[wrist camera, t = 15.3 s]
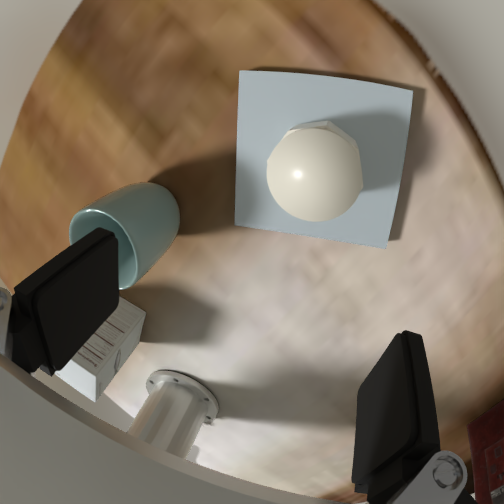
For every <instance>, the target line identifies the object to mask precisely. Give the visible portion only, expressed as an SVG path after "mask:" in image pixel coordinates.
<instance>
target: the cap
mask: <svg viewBox="0 0 504 504" xmlns="http://www.w3.org/2000/svg"><path fill="white" fill-rule="evenodd" d="M267 183H268V186H269V189H270V192H271V194H272V196H273V198H274V199H275V201H276V202H277V203H278V204H279V205H280V207H281V208H282V209H284V210H285V211H286V212H287V213H289V214H291V215H292V216H294V217H296V218H299V219H302V220H306V221H312V222H322V221H328V220H331V219H334V218H336V217H339V216H340V215H342V214H344V213H345V212H346V211H347V210H348V209H349V208H350V207H351V206H352V205H353V204H354V203H355V201H356V199H357V198H358V196H359V193H360V191H361V189H362V188H363V179H362V168H361V163H360V155H359V149H358V146H357V143H356V141H355V140H354V139H353V138H352V137H350V136H349V135H348V134H347V133H345V132H344V131H343V130H341V129H340V128H339V127H337V126H336V125H335V124H333V123H332V122H330V121H329V120H327V121H319V122H312V123H305V124H298V125H295V126H294V127H293V128H291V129H290V130H288V131H287V133H286V134H285V135H284V137H283V138H282V140H281V141H280V142H279V143H278V144H277V146H276V147H275V148H274V150H273V151H272V153H271V155H270V157H269V158H268V160H267Z"/></svg>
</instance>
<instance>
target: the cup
mask: <svg viewBox="0 0 504 504" xmlns="http://www.w3.org/2000/svg"><path fill="white" fill-rule="evenodd" d="M98 227H101V228H104V229H107V230H109V231H112V232H114V233H115V237H116V238H117V239H118V269H119V290H122V289H127V288H129V287H131V286H133V285H134V284H135V283H136V282H137V281H139V280H140V279H141V278H142V277H143V276H144V275H145V274H146V273H147V272H148V271H149V270H150V269H151V268H152V267H153V266H154V265H155V264H156V263H157V262H158V260H159V259H160V258H161V257H162V256H163V255H164V254H165V253H166V251H167V250H168V249H169V248H170V246H171V245H172V243H173V241H174V240H175V238H176V236H177V233H178V230H179V227H180V211H179V207H178V204H177V201H176V199H175V197H174V196H173V194H172V193H171V192H170V191H169V190H168V189H166V188H165V187H163V186H161V185H159V184H156V183H151V182H140V183H134V184H130V185H127V186H124V187H122V188H119V189H117V190H115V191H113V192H110V193H108V194H106V195H105V196H103V197H101V198H99V199H97V200H95V201H94V202H92V203H90V204H89V205H87V206H85V207H84V208H82V209H81V210H80V211H79V212H77V213H76V214H75V215H74V217H73V218H72V220H71V224H70V227H69V238H70V244H71V245H72V244H74V243H75V242H77V241H78V240H79V239H81V238H82V237H84V236H85V235H87V234H88V233H90V232H91V231H93V230H94V229H96V228H98Z"/></svg>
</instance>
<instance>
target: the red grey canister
mask: <svg viewBox="0 0 504 504" xmlns="http://www.w3.org/2000/svg"><path fill="white" fill-rule="evenodd" d="M467 429H468V436H469V442H470V450H471V457H472V466H473V476H474V488H475V501H476V502H477V503H478V504H504V399H503V400H502V401H501V402H499V403H498V404H497V405H495V406H494V407H493V408H491V409H490V410H488V411H487V412H486V413H484V414H483V415H481V416H480V417H478V418H477V419H476V420H474V421H473V422H471V423H470V424H468V425H467Z"/></svg>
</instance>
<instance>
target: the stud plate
mask: <svg viewBox="0 0 504 504" xmlns="http://www.w3.org/2000/svg"><path fill="white" fill-rule="evenodd" d="M412 98H413V91H411V90H407V89H402V88H398V87H393V86H388V85H382V84H377V83H371V82H365V81H359V80H353V79H346V78H338V77H330V76H322V75H312V74H301V73H288V72H271V71H240V72H239V97H238V124H237V155H236V190H235V225H236V226H243V227H250V228H257V229H264V230H270V231H277V232H283V233H290V234H296V235H303V236H309V237H315V238H322V239H328V240H334V241H340V242H346V243H353V244H359V245H365V246H370V247H376V248H382V249H386V247H387V243H388V239H389V234H390V230H391V226H392V221H393V217H394V212H395V207H396V202H397V197H398V192H399V187H400V182H401V176H402V171H403V165H404V159H405V152H406V146H407V139H408V132H409V124H410V116H411V107H412ZM327 120H329V121H330V122H332V123H333V124H335V125H336V126H337V127H339V128H340V129H341V130H343V131H344V132H345V133H347V134H348V135H349V136H350V137H352V138H353V139H354V140H355V141H356V143H357V146H358V149H359V155H360V163H361V168H362V179H363V188H362V189H361V191H360V193H359V196H358V198H357V199H356V201H355V203H354V204H353V205H352V206H351V207H350V208H349V209H348V210H347V211H346V212H345V213H344V214H342V215H340V216H339V217H336V218H334V219H331V220H328V221H322V222H312V221H306V220H302V219H299V218H296V217H294V216H292V215H291V214H289V213H287V212H286V211H285V210H284V209H282V208H281V207H280V205H279V204H278V203H277V202H276V201H275V199H274V198H273V196H272V194H271V192H270V189H269V186H268V183H267V160H268V158H269V157H270V155H271V153H272V151H273V150H274V148H275V147H276V146H277V144H278V143H279V142H280V141H281V140H282V138H283V137H284V135H285V134H286V133H287V131H288V130H290V129H291V128H293V127H294V126H295V125H298V124H305V123H312V122H319V121H327Z"/></svg>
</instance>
